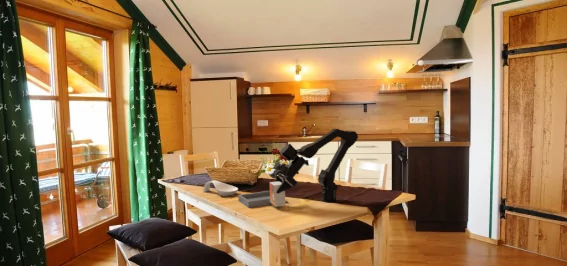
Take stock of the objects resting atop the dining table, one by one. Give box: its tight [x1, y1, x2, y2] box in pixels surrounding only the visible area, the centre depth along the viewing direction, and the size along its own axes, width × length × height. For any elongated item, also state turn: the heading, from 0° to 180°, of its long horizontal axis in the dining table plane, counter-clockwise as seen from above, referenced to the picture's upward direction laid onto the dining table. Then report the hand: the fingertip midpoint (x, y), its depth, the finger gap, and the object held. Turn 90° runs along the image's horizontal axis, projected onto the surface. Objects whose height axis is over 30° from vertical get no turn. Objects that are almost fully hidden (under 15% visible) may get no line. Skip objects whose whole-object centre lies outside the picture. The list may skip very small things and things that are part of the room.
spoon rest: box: [202, 179, 239, 197], centre depth 217 cm, size 24×12×7 cm, turn 55°
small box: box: [269, 181, 286, 207], centre depth 185 cm, size 8×6×10 cm
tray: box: [237, 190, 273, 209], centre depth 197 cm, size 20×16×3 cm
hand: (274, 191), depth 184 cm, fingers closed on small box, 8 cm apart
